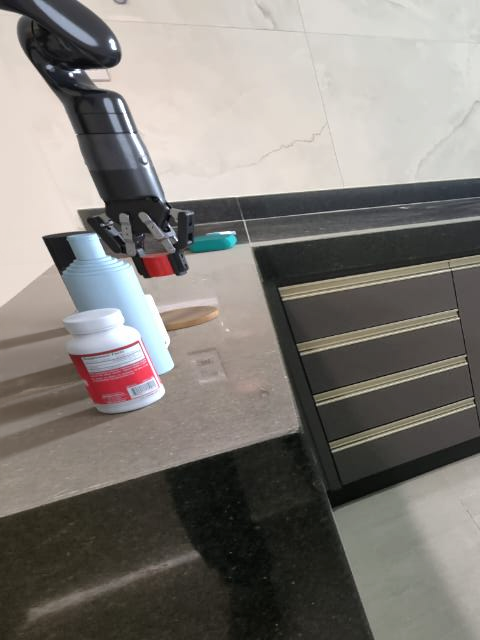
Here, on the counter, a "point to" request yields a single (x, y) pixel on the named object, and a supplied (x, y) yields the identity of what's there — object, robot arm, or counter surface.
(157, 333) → the bottle
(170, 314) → the coaster
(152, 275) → the cap
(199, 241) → the teal soap bar
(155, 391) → the pill bottle
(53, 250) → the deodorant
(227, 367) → the counter surface
